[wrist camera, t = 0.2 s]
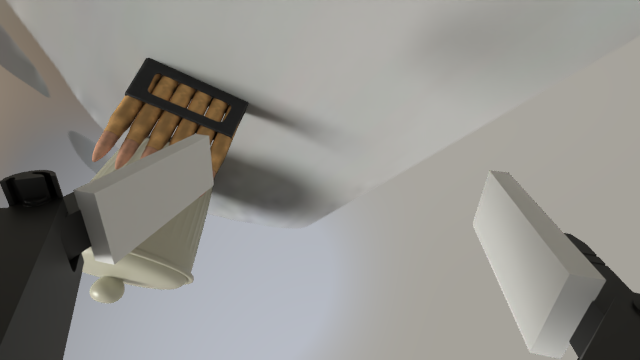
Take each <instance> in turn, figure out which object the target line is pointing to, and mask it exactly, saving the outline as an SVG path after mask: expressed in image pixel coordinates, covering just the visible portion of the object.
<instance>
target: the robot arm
mask: <svg viewBox="0 0 640 360" xmlns="http://www.w3.org/2000/svg"><path fill="white" fill-rule="evenodd" d="M0 184H1V187H2V189H3V191H4V194H5V196H6V199H7V201H8V203H9V207H8V208H0V360H63V356H64V351H65V347H66V342H67V338H68V333H69V329H70V324H71V320H72V315H73V310H74V306H75V301H76V297H77V292H78V288H79V283H80V279H81V274H82V270H83V265H84V259H83V256H82V252H83V251H85V250H86V249H88V248H89V247H91V249H92V252H93V255H94V258H95V261H99V262H103V263H108V264H113V265H115V264H116V263H117V262H118V261H120V260H121V259H122V258H123V257H125V256H126V255H127V254H128V253H130V252H131V251H132V250H133V249H135V248H136V247H137V246H138V245H140V244H141V243H142V242H143V241H145V240H146V239H147V238H148V237H150V236H151V235H152V234H153V233H155V232H156V231H157V230H158V229H160V228H161V227H162V226H163V225H165V224H166V223H167V222H169V221H170V220H171V219H172V218H174V217H175V216H176V215H177V214H179V213H180V212H181V211H182V210H184V209H185V208H186V207H187V206H189V205H190V204H191V203H192V202H194V201H195V200H196V199H197V198H199V197H200V196H201V195H202V194H204V193H205V192H206V191H207V190H209V189H210V188H211V187H212V186H214V181H213V171H212V161H211V150H210V140H209V136H208V135H200V134H194V135H192V136H190V137H187V138H185V139H183V140H181V141H179V142H176V143H174V144H172V145H170V146H168V147H166V148H163V149H161V150H159V151H157V152H155V153H153V154H150V155H148V156H146V157H144V158H142V159H140V160H137V161H135V162H133V163H131V164H129V165H127V166H124V167H122V168H120V169H118V170H116V171H114V172H111V173H109V174H107V175H105V176H103V177H100V178H98V179H96V180H94V181H92V182H90V183H88V184H85V185H83V186H81V187H79V188H77V189H74V190H73V191H74V192H72V193H70V194H68V195H66V196H64V197H63V195H62V192H61V189H60V186H59V183H58V180H57V177H56V174H55V172H53V171H48V170H35V171H28V172H22V173H18V174H14V175H12V176H9V177H6V178H4V179H3V180H2V181H0ZM473 227H474V229H475V231H476V234H477V236H478V238H479V240H480V243H481V245H482V247H483V249H484V252H485V254H486V256H487V258H488V260H489V262H490V265H491V267H492V269H493V272H494V274H495V276H496V278H497V280H498V283H499V285H500V287H501V289H502V292H503V294H504V296H505V298H506V301H507V303H508V305H509V307H510V310H511V312H512V314H513V316H514V318H515V320H516V323H517V325H518V327H519V330H520V332H521V334H522V336H523V338H524V341H525V343H526V345H527V348H528V350H529V352H530V353H534V354H539V355H543V356H548V357H553V358H558V359H561V358H562V356H563V354H564V353H565V351H566V349H567V348H568V346H569V344H571V346H572V347H573V349H574V351H575V352H576V354H577V356H578V357H579V358H578V359H577V360H640V294H638V293H634V292H632V291H631V290H630V289H629V288H628V287H627V286H626V285H625V284H624V283H623V282H622V281H621V279H620V278H619V277H618V276H617V275H616V274H615V273H614V272H613V271H612V270H610V268H609V267H608V266H605V263H604V262H603V261H602V260H601V259H600V258H599V257H597V256H596V254H595V253H594V252H593V251H592V250H591V249H590V248H589V247H588V245H586V244H585V243H583V242H582V241H580V240H579V239H577V238H576V237H574V236H573V235H571V234H566V233H563V232H562V231H561V230H560V229H559V228H558V226H557V225H556V224H555V223H554V222H553V221H552V220H551V219H550V218H549V217H548V215H547V214H546V213H545V212H544V211H543V210H542V209H541V208H540V207H539V206H538V204H537V203H536V202H535V201H534V200H533V199H532V198H531V197H530V196H529V195H528V193H527V192H526V191H525V190H524V189H523V188H522V187H521V186H520V185H519V183H517V181H516V180H515V179H514V178H513V177H512V176H511V175H510V174H509V173H507V172H499V171H491V170H489V173H488V177H487V180H486V183H485V186H484V189H483V193H482V196H481V199H480V202H479V205H478V209H477V212H476V215H475V218H474V221H473Z"/></svg>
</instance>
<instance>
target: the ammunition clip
mask: <svg viewBox="0 0 640 360" xmlns="http://www.w3.org/2000/svg"><path fill="white" fill-rule="evenodd" d="M174 92H175V93H174ZM171 97H172V98H171ZM170 99H171V100H170ZM191 100H192V101H191ZM190 101H191V103H190ZM189 103H190V104H189ZM188 105H189V106H188ZM208 106H209V108H208ZM247 106H248V102H246V101H244V100H241V99H239V98H237V97H235V96H232V95H230V94H228V93H226V92H224V91H221V90H219V89H217V88H215V87H212V86H210V85H208V84H206V83H204V82H201V81H199V80H197V79H195V78H192V77H190V76H188V75H186V74H183V73H181V72H179V71H177V70H175V69H172V68H170V67H168V66H166V65H163V64H161V63H159V62H157V61H155V60H152V59H150V58H146V60H145V61H144V63H143V65H142V66H141V68H140V69H139V71H138V73H137V74H136V76H135V78H134V79H133V81H132V83H131V84H130V86H129V87H128V89H127V91H126V92H125V97H124V98H123V100H122V101H121V103H120V104H119V105H118V107H117V108H116V110H115V111H114V113H113V114H112V116H111V117H110V120H109V122H108V125H107V127H106V128H105V130H104V132H103V134H102V135H101V137H100V138H99V140H98V142H97V144H96V146H95V149H94V152H93V157H92V161H93V162H96V161H98V160H99V159H101V158H102V157H103V156H105V155H106V154H107V153H108V152H109V151H110V150H111V148H112V147H113V146H114V145H115V143H116V142H117V140H118V139H119V138H120V137H121V135H122V134H123V133H124V132H125V131H126V130H127V129H128V128H129V127H130V125H131V124H132V125H131V127H130V130H129V133H128V135H127V137H126V138H125V141H124V142H123V144H122V146H121V148H120V150H119V152H118V155H117V158H116V161H115V169H119V168H121V167H122V166H124V165H125V164H126V163H127V162H128V161H129V160H130V159H131V157H132V156H133V155H134V154H135V152H136V151H137V149H138V147H139V146H140V145H141V144H142V142H143V141H144V139H145V138H146V137H147V136H148V135H149V134H150V132H151V131H152V129H153V127H154V126H155V124H156V122H157V121H158V122H157V124H156V126H155V127H154V129H153V131H152V133H151V135H150V139H149V141H148V143H147V145H146V147H145V150H144V152H143V153H142V156H141V158H140V159H142V158H144V157H146V156H148V155H150V154H153V153H155V152H157V151H159V150H161V149H163V147H164V146H165V145H166V144H167V143H168V141H169V140H170V138H171V136H172V134H173V132H174V131H175V129H176V127H177V126H178V127H177V129H176V131H175V133H174V135H173V137H172V139H171V141H170V143H169V146H170V145H172V144H174V143H176V142H179V141H181V140H183V139H185V138H187V137H190V136H192V135H194V134H195V133H196V134H200V135H208V136H209V140H210V145H211V142H212V140H214V141H213V144H212V146H211V148H210V150H211V161H212V171H213V180H214V178H215V175H216V174H217V172H218V170H219V167H220V166H221V165H222V163H223V162H224V159H225V157H226V154H227V152H228V150H229V147H230V145H231V142H232V140H233V137H234V135H235V133H236V130H237V128H238V126H239V124H240V121H241V119H242V117H243V115H244V113H245V111H246V108H247ZM187 107H188V108H187ZM207 108H208V110H207ZM206 110H207V112H206ZM205 112H206V114H205ZM138 113H139V114H138ZM225 113H226V114H225ZM204 114H205V116H204ZM224 114H225V116H224ZM136 116H137V117H136ZM223 116H224V118H223ZM222 118H223V121H222V122H221V120H222ZM134 119H135V120H134ZM158 119H159V120H158ZM133 121H134V122H133ZM132 122H133V123H132ZM204 194H205V193H204ZM204 194H202V195H201V196H200V197H202V196H203V195H204Z"/></svg>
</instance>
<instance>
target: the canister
mask: <svg viewBox="0 0 640 360" xmlns="http://www.w3.org/2000/svg"><path fill="white" fill-rule="evenodd" d="M149 139H150V138H145V139H144V141H143V142H142V144H141V145H140V146H139V147H138V149H137V151H136V152H135V154H134V155H133V156H132V157H131V159H130V160H129V161H128V162H127V163H126V164H125V165H124V166H127V165H129V164H131V163H133V162H135V161H137V160H140V158H141V156H142V153H143V152H144V150H145V147H146V145H147V143H148V141H149ZM169 143H170V142H168V143H167V144H166V145H165V146H164V147H163V148H166V147H168V146H169ZM119 150H120V149H119ZM119 150H118V151H117V152H116V153H115V154H114V155H113V156H112V157H111V158H110V160H109V161H108V162H107V163H106V164H105V165H104V166H103V167H102V169H101V170H100V171H99V172H98V173H97V174H96V176H95V177H94V178H93V179H92V180H91V181H90V182H92V181H94V180H96V179H98V178H100V177H103V176H105V175H107V174H109V173H111V172H114V171H116V170H118V169H115V161H116V158H117V155H118V152H119ZM124 166H122V167H124ZM122 167H121V168H122ZM119 169H120V168H119ZM212 187H213V186H212ZM212 187H211V188H210V189H209V190H207V191H206V192H205V194H204V195H203V196H202V197H199V198H197V199H196V200H195V201H194V202H192V203H191V204H190V205H189V206H187V207H186V208H185V209H184V210H182V211H181V212H180V213H179V214H177V215H176V216H175V217H174V218H172V219H171V220H170V221H169V222H167V223H166V224H165V225H163V226H162V227H161V228H160V229H158V230H157V231H156V232H155V233H153V234H152V235H151V236H150V237H148V238H147V239H146V240H145V241H143V242H142V243H141V244H140V245H138V246H137V247H136V248H135V249H133V250H132V251H131V252H130V253H128V254H127V255H126V256H125V257H123V258H122V259H121V260H120V261H118V262H117V263H116V264H115V265H113V264H108V263H103V262H99V261H95V258H94V255H93V252H92V249H91V247H89V248H88V249H86V250H85V251H83V252H82V256H83V259H84V265H83V270H82V272H84V273H87V274H90V275H94V276H97V277H100V279H98V280H97V281H96V282H94V284H93V285H92V286H91V288H90V296H91V297H92V299H94V300H95V301H98V302H101V303H113V302H116V301H118V300H119V299H120V298H121V297H122V295H123V293H124V284H129V285H134V286H139V287H146V288H154V289H175V288H179V287H181V286H182V285H184V284H190V283H192V282H193V280H194V278H193V275H192V274H191V270H192V266H193V263H194V260H195V256H196V253H197V249H198V245H199V241H200V237H201V234H202V230H203V226H204V222H205V219H206V215H207V211H208V206H209V202H210V198H211V193H212Z"/></svg>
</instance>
